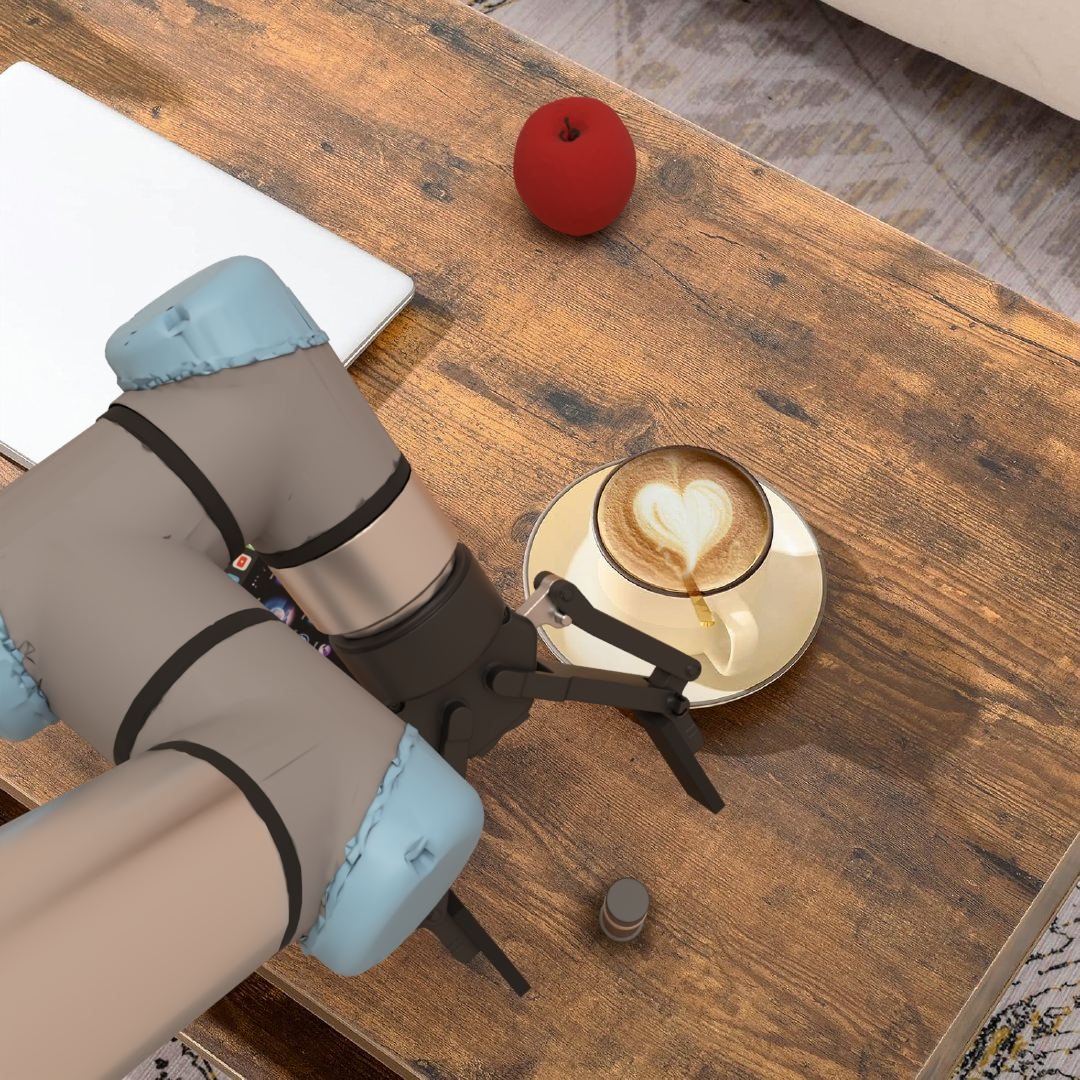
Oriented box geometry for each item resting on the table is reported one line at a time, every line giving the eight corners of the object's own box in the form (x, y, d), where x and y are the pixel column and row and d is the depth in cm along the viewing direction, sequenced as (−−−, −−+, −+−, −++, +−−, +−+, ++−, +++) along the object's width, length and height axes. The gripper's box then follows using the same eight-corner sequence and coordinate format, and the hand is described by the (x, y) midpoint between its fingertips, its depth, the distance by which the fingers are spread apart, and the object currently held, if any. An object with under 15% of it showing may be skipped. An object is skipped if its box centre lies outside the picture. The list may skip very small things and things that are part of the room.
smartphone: (243, 514, 77) (444, 600, 74) (245, 518, 78) (445, 603, 75) (184, 612, 75) (390, 705, 72) (187, 616, 75) (392, 707, 72)
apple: (655, 232, 86) (664, 136, 77) (542, 272, 85) (537, 179, 76) (607, 142, 89) (610, 40, 80) (497, 179, 88) (488, 80, 79)
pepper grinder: (620, 952, 66) (626, 938, 57) (589, 916, 67) (591, 897, 58) (653, 920, 67) (664, 902, 58) (622, 885, 68) (629, 862, 58)
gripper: (562, 411, 58) (740, 707, 67) (147, 740, 52) (403, 1015, 61) (640, 430, 51) (825, 756, 60) (175, 808, 45) (457, 1106, 54)
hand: (613, 887), depth 61 cm, fingers open, 13 cm apart
